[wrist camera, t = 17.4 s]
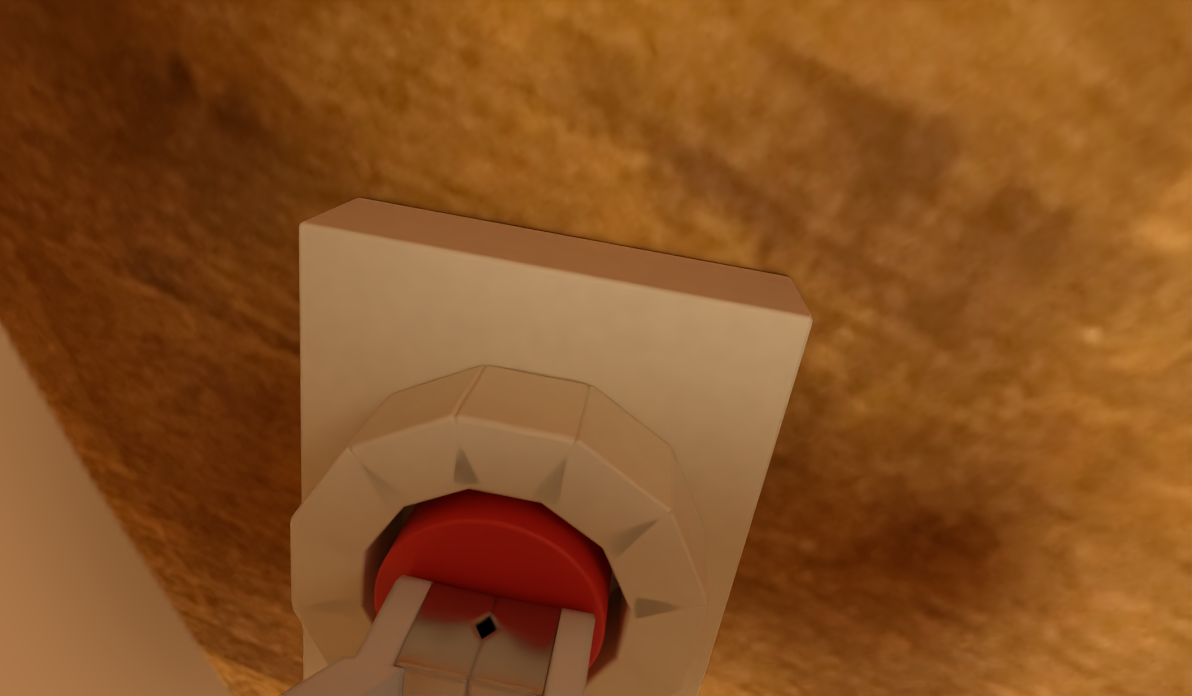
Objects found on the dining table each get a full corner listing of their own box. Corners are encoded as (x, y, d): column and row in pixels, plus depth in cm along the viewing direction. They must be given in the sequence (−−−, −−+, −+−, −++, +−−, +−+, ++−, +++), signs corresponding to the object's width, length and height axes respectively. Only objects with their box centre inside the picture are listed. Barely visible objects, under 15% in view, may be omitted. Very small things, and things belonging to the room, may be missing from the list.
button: (406, 603, 13) (369, 679, 11) (417, 437, 12) (375, 499, 10) (596, 641, 13) (584, 724, 11) (631, 479, 11) (624, 548, 10)
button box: (346, 611, 17) (253, 768, 13) (356, 195, 13) (225, 250, 9) (677, 679, 16) (679, 859, 13) (792, 276, 12) (842, 367, 9)
